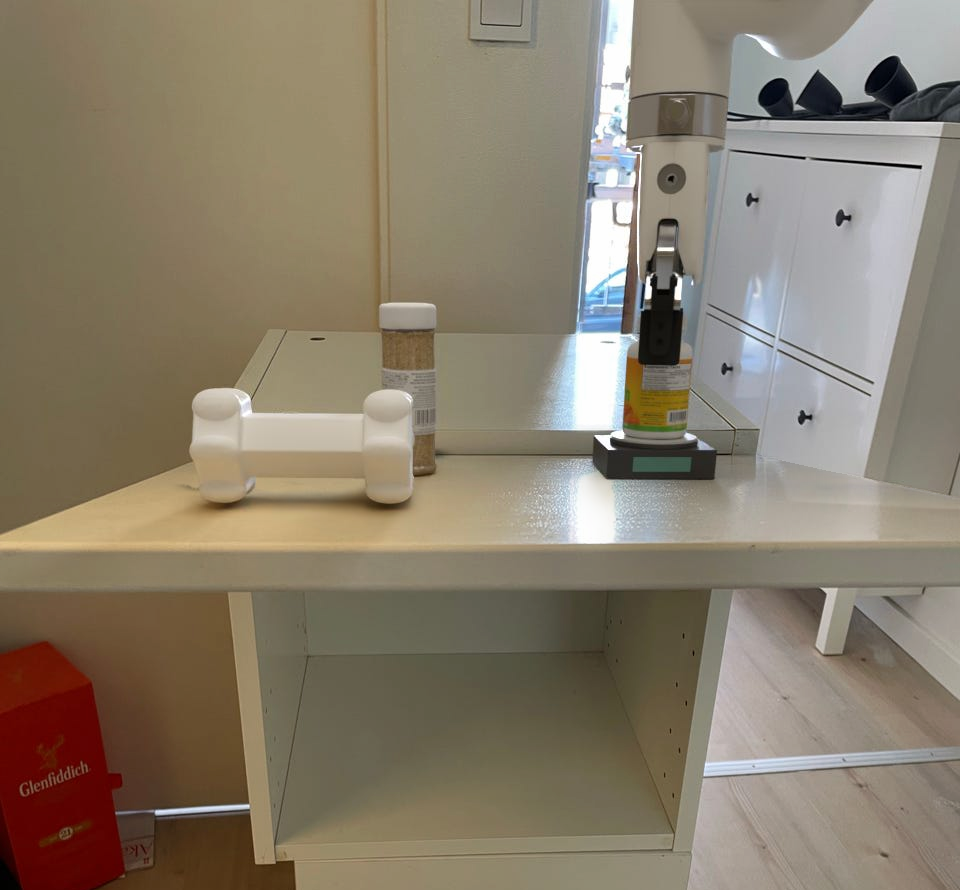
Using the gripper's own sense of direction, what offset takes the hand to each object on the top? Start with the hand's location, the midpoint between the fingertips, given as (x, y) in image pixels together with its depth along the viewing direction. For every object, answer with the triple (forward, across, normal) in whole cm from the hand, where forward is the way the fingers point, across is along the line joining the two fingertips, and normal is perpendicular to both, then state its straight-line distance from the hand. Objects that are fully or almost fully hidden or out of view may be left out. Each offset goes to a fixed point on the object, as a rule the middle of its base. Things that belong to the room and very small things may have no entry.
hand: (659, 360), depth 81 cm
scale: (+9, 0, 0) cm, 9 cm away
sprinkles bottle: (+9, -6, +20) cm, 23 cm away
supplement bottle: (+6, 0, 0) cm, 6 cm away
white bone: (+9, -19, +24) cm, 32 cm away
